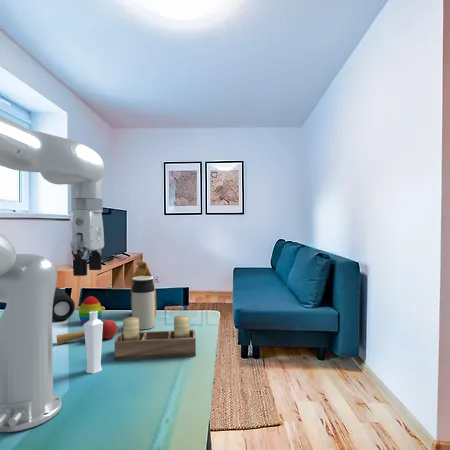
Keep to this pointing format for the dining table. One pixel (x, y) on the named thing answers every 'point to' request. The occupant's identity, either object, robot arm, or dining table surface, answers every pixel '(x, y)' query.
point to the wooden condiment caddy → (155, 341)
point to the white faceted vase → (93, 343)
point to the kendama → (107, 333)
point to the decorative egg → (89, 309)
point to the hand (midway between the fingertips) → (88, 272)
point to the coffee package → (142, 271)
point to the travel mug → (143, 301)
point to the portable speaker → (62, 305)
